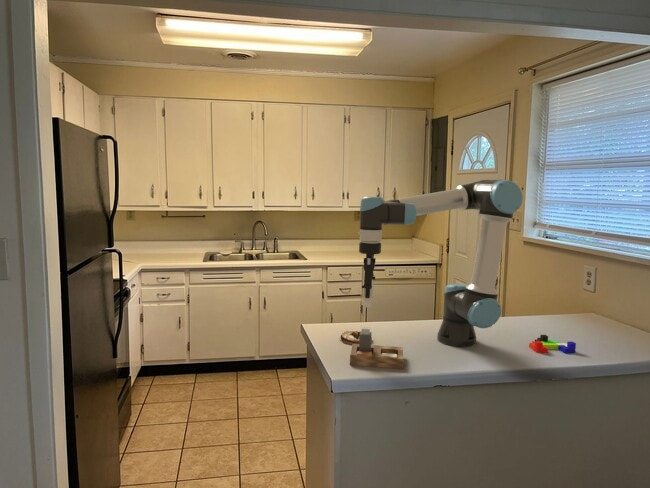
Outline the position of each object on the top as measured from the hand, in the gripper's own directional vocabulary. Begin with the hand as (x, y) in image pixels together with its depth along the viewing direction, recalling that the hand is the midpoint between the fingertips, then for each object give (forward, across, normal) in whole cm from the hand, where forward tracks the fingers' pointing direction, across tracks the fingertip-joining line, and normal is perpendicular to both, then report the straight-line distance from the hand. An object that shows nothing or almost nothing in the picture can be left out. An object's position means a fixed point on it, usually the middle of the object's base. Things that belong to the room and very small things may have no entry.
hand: (368, 302), depth 170 cm
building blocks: (+22, -28, +70) cm, 78 cm away
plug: (+19, 0, 0) cm, 19 cm away
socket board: (+21, 0, +4) cm, 21 cm away
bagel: (+21, -20, -5) cm, 30 cm away
